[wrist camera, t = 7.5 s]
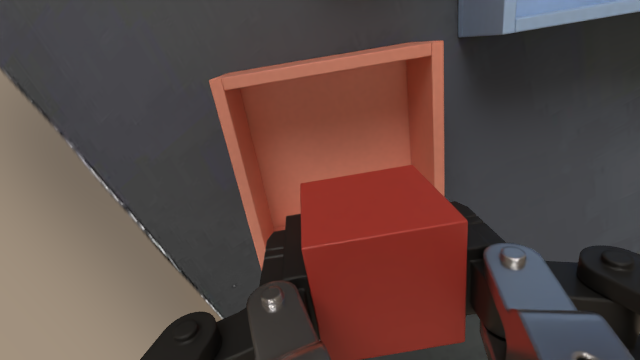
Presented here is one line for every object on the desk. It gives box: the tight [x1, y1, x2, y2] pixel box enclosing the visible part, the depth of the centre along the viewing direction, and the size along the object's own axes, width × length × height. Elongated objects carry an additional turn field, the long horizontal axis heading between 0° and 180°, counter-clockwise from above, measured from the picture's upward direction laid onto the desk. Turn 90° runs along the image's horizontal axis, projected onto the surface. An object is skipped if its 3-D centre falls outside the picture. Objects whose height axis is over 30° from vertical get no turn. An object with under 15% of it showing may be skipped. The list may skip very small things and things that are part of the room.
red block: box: [300, 165, 468, 360], centre depth 10 cm, size 4×4×4 cm
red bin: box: [209, 40, 444, 270], centre depth 19 cm, size 11×11×5 cm
